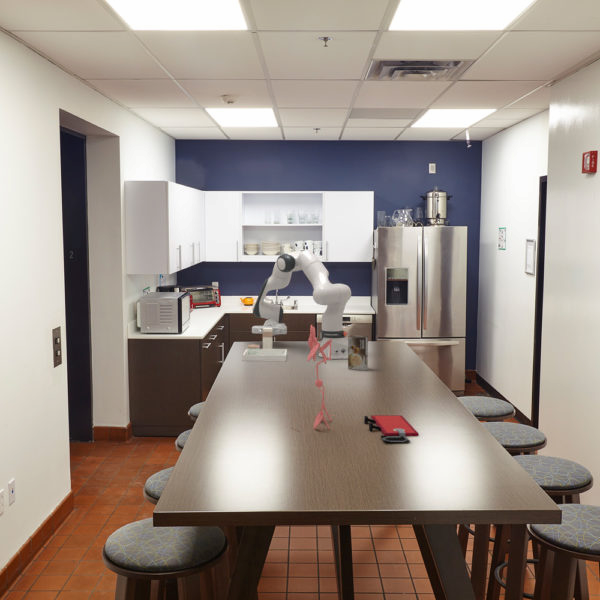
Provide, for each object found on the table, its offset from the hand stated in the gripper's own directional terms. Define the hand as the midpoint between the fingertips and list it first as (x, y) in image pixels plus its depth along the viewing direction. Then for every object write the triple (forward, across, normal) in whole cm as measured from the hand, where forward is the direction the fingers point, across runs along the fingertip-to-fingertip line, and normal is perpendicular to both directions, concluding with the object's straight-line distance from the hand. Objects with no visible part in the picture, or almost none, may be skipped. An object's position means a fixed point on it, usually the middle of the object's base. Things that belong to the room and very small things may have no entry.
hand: (268, 332), depth 372 cm
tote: (+29, 0, +10) cm, 31 cm away
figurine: (+144, +24, +9) cm, 147 cm away
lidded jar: (+31, -6, +9) cm, 33 cm away
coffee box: (+49, +47, +10) cm, 69 cm away
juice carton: (+12, 0, +10) cm, 16 cm away
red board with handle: (+150, +51, +9) cm, 158 cm away
